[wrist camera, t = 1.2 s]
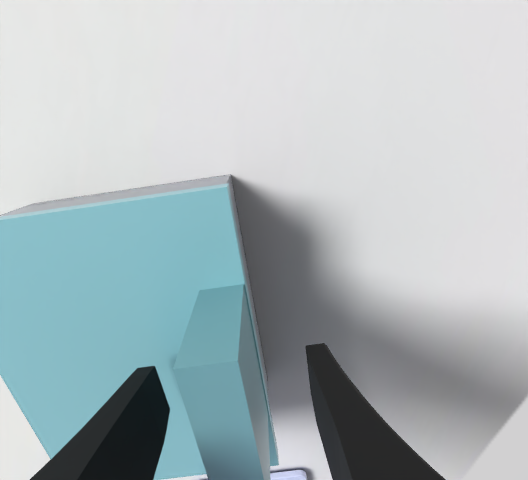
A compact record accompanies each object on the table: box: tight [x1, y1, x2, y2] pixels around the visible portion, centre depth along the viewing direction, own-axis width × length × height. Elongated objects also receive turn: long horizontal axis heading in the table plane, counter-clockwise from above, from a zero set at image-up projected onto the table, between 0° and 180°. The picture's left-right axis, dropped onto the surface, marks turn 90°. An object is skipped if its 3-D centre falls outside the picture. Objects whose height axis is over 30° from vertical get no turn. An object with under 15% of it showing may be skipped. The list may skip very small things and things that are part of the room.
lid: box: [0, 183, 279, 480], centre depth 10 cm, size 13×10×5 cm
